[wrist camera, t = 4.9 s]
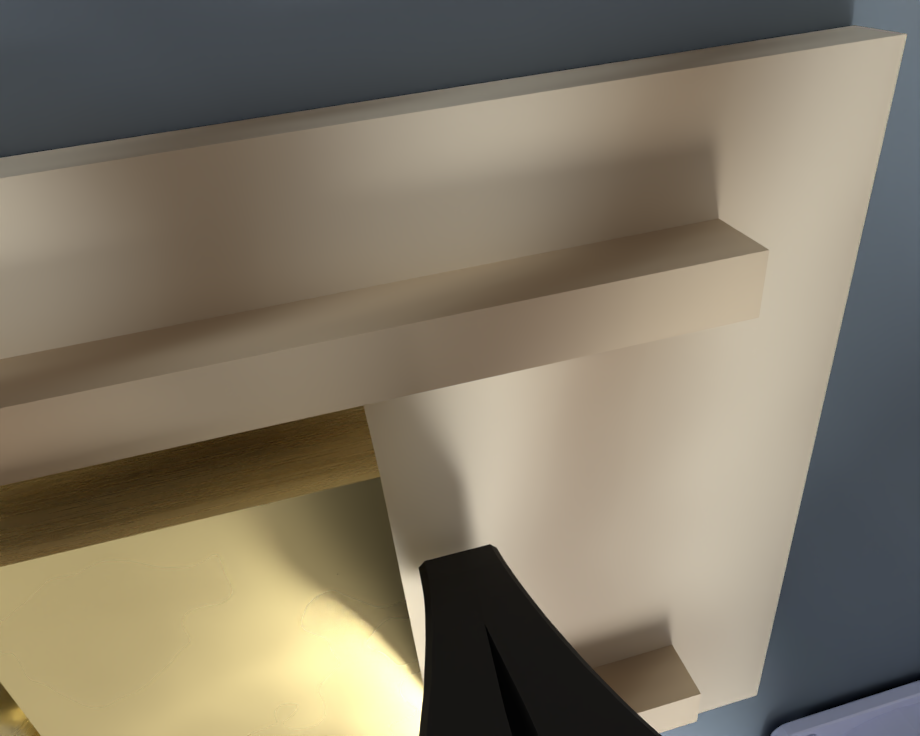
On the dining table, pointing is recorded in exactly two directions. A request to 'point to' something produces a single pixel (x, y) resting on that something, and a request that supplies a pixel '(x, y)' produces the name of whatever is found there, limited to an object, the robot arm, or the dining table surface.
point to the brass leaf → (209, 592)
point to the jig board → (489, 322)
